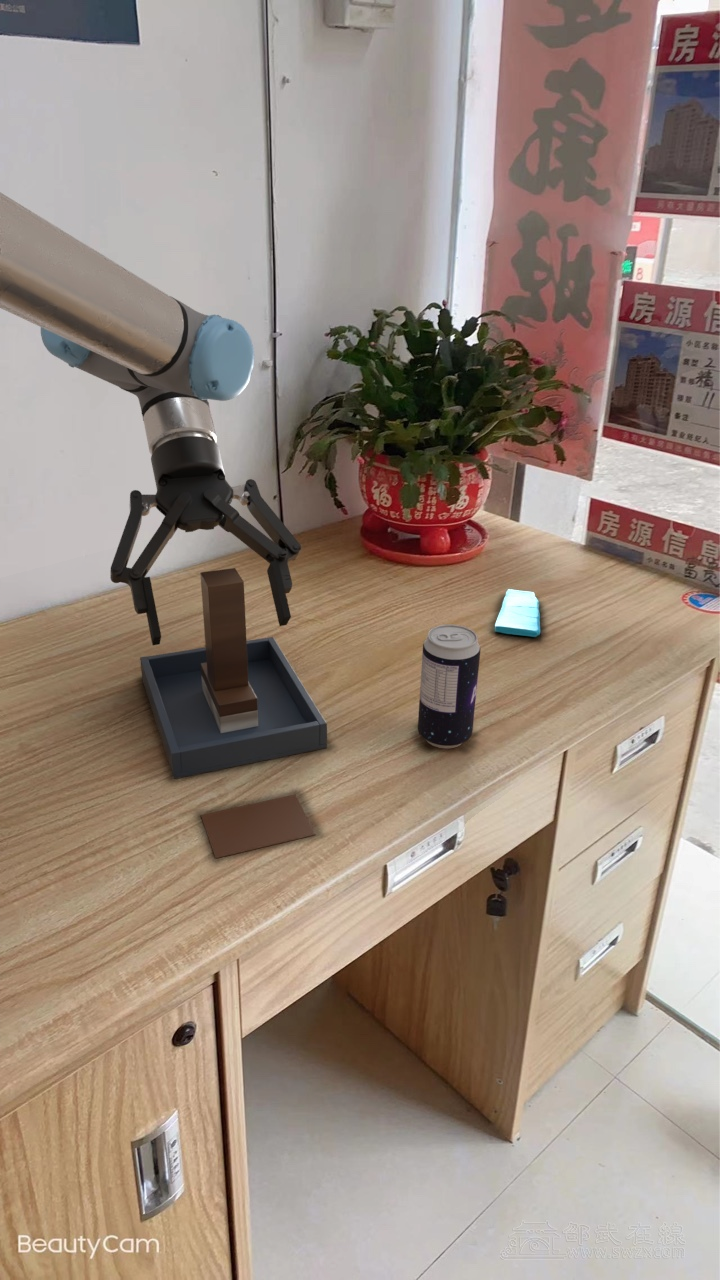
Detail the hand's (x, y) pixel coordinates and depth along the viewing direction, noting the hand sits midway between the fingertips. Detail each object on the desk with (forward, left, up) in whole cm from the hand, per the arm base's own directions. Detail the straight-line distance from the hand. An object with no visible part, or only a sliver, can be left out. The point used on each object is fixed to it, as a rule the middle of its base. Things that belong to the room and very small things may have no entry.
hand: (222, 631), depth 92 cm
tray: (0, -1, -9) cm, 9 cm away
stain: (-2, -20, -9) cm, 22 cm away
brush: (0, -1, -9) cm, 9 cm away
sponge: (+42, +9, -9) cm, 44 cm away
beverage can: (+20, -13, -9) cm, 26 cm away
